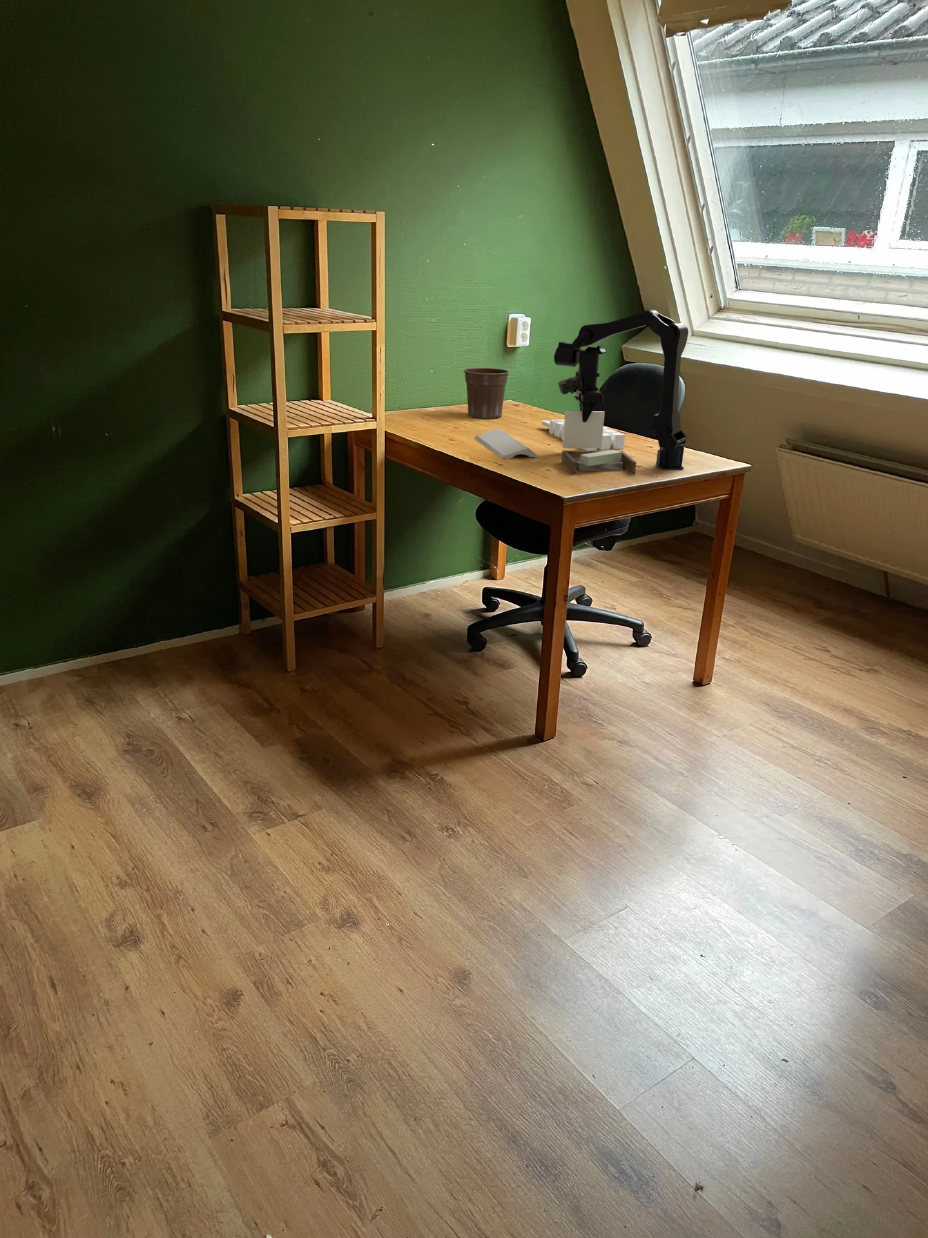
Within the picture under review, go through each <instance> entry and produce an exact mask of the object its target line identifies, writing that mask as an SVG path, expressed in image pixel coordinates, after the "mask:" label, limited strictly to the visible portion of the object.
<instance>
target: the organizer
mask: <svg viewBox="0 0 928 1238" xmlns="http://www.w3.org/2000/svg"><path fill="white" fill-rule="evenodd" d="M564 419H565V418H564ZM564 419H549V420H545V419H544V420H541V426H545V428H548V429H549V430H548V431H549V432H548V433H550V435H552V434H554V435H553V436H554V437H556V436H557V437H556V438H558V439H561V440H562V441H563V433H564ZM625 441H626V434H624V433H622V432H618V431H617V430H614V429H611V428H610V427H607V426H603V437H602V448H581V449H582V450H583V451H608V450H624V448H625Z"/></svg>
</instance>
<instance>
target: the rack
mask: <svg viewBox="0 0 928 1238" xmlns="http://www.w3.org/2000/svg"><path fill="white" fill-rule="evenodd" d="M602 451H603V450H593V451H586V450H561V464H562V465H563V466H564V467H565V468H566V469H567V470H568V471H569V473H570V474H572V475H576V474H577V469H576V464H577V462H576V461H580V455H582V454H588V453H595V452H602ZM619 451H620V452H622V457H621V461H620V462H622V463H623V467H622V468H623V469H624V470H626V471H627V472H628V473H629V474H630V475H632V474H635V475H636V471H637V469H636V468H637V461H636V460H634V459H633V458H632V457H631V456H630V455H628V454H627V453H626V452H625V451H624V450H619Z"/></svg>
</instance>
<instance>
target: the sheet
mask: <svg viewBox="0 0 928 1238" xmlns="http://www.w3.org/2000/svg"><path fill="white" fill-rule="evenodd" d="M605 413H606V412H605V410H604V411H598V410H597V411H594V410H593V411H592V413H591V414H590V416H589V418H588V420H587V422H583V420H582V411H580V410H579V411H578V410H564V433H563V440H562V449H582V448H602V437H603V427H604V423H605V415H606V414H605Z"/></svg>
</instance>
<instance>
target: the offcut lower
mask: <svg viewBox="0 0 928 1238" xmlns="http://www.w3.org/2000/svg"><path fill="white" fill-rule="evenodd" d="M576 462H577V464H576V471H578V472H589V471H590V472H592V471H593V472H595V471H596V472H597V471H598V472H599V471H601V472H602V471H603V472H604V471H623V468H624V467H623V463H622V462H620V461H617V462H611V463H604V464H598V465H592V466H586V465H583V464H580V461H576Z"/></svg>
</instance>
